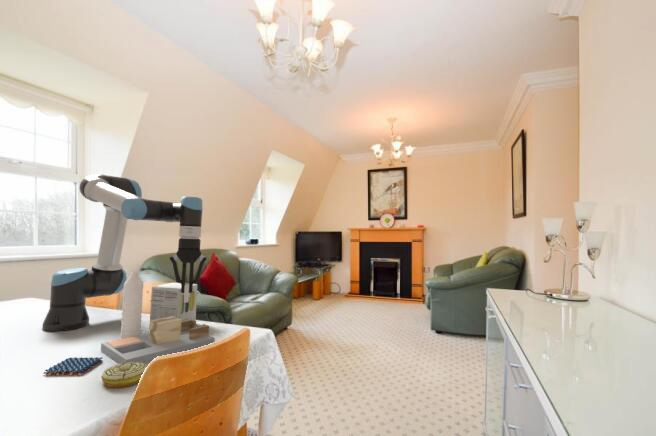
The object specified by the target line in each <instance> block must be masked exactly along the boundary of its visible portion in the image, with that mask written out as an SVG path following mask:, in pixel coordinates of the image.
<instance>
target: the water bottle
mask: <svg viewBox="0 0 656 436" xmlns="http://www.w3.org/2000/svg"><path fill="white" fill-rule="evenodd" d="M151 273H152V270H143V274H147V275H148V274H151ZM143 293H144V281H143V280H142V279H141V277H140V275H139V271H138V270H133V271H131V272H130V275H129V276H128V278H127V280H126V282H125V283H124V288H123V294H122V306H121V308H122V311H121V327H120V339H124V338H128V337H133V336H138V335H141V334H142V333H141V332H142V331H141V328H142V324H141V323H142V317H143V316H142V313H143V296H144V295H143Z"/></svg>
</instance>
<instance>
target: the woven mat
mask: <svg viewBox="0 0 656 436" xmlns="http://www.w3.org/2000/svg"><path fill="white" fill-rule="evenodd" d="M102 359H103V356H102V357H98V356H96V357H93V356H92V357H91V356H90V357H83V356H81V357H77V356H75V357H68V358H65V360H61V362H58V363H57V364H55V365H52V367H51V366H50V367H49V368H48V369H45V370H44V372H43V374H44V375H43V377H46V376H49V377H50V376H52V377H54V375H55V376H57V377H58V375H59V376H61V375H63V376H71V377H72V376H73V377H75V376H77V375H78V376H82V375H84V374H86V373H87V372H88V371H90V370H92V369H93V368H94V367H96V366H98V365H99V364H101V363H103V361H104V360H102ZM47 374H48V375H47ZM60 374H61V375H60ZM64 374H65V375H64ZM45 375H46V376H45Z"/></svg>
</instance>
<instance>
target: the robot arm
mask: <svg viewBox="0 0 656 436" xmlns="http://www.w3.org/2000/svg"><path fill="white" fill-rule="evenodd" d="M79 183H80V184H79V192H80V194H81V196H82V197H83V198H85V199H87V200H89V201H90V202H93V203H101V204H102V206H103V208H105V216H104V220H103V227H102V231H101V232H102V233H101V237H100V243H99V250H98V255H97V261H96V262H94V263H93V264H92V265H91V270H88V268H86V267H76V268H75V267H74V268H67V269H62V270H59V271H56V272H55V273H53V274H52V276H51V277H52V279H51V282H50V301H49V309H48V312H47V314H46V316H45V318H44V320H43V322H42V326H41V327H42V330H43V331H47V332H61V331H71V330H75V329H80V328H83V327H86V326H88V325H89V324H90V316H89V313H88V311H87V308H86V307H87V306H86V299H90V298H97V297H103V296H106V297H107V296H112V295H116V294H119V293H120V292H123V290H124V283H125V282H126V280H127V279H128V278H127V272H126V270H124V269H123V265H122V264H121V263H120V262H121V257H122V251H123V246H124V241H125V235H126V229H127V223H128V220H133V221H151V222H152V221H153V222H167V223H179V231H178V237H179V238H178V247H177V251H176V254H174V255H172V256H169V260H170V262H171V263H172V268H173V271H174V272H173V273H174V276H175V277H174V279H175V281H176V282H175V283H180V284H181V293H184V303H188V301H189V293H192V290H193V284H197V283H198V282H199V278H200V277H201V276H200V275H201V272H202V270H203V267H204V264H205V262H206V261H207V259H208V258H207V256H204V255H203V254H202V252H201V239H200V238H201V237H202V220H203V219H202V218H203V210H204V209H203V199H202V198H201V197H197V196H182V197H181V199H180V202H173V201H172V202H171V201H162V200H152V199H145V198H143V192H142V188H141V186H140V183H139V182H137V180H135V179H131V178H126V177H120V176H113V175H106V174H98V173H96V174H90V175H88V176H86V177H84V178H83V179H82V180H81V181H80V182H79ZM178 259H179V260H180V262H181V263H182V267H181V268H182V269H181V270H182V271H181V276H180V271H179V267H178ZM198 259H199V261H200V262H199V264H198V267H197V272H196V275H195V278H194V273H195V272H194V271H195V263H196V262H197V261H198ZM188 264H189V281H188V283H186V281H187V280H186V278H187V268H188V267H187V265H188ZM185 283H186V284H185Z"/></svg>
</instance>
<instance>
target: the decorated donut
mask: <svg viewBox="0 0 656 436" xmlns="http://www.w3.org/2000/svg"><path fill="white" fill-rule="evenodd" d="M147 366H148V365H147V363H139V362H128V363H123V364H119V363H118V364H115V365H112V366H111V367H108V368H106V369H105V370H103V373H102V374H101V379H102V382H103V384H104V385H105V386H107V387H108V388H125V387H130V386H133V385H136V384H138V382H139V380H140V378H141V375H142V374H143V372H144V370H145V368H146V367H147ZM139 383H140V382H139Z"/></svg>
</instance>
